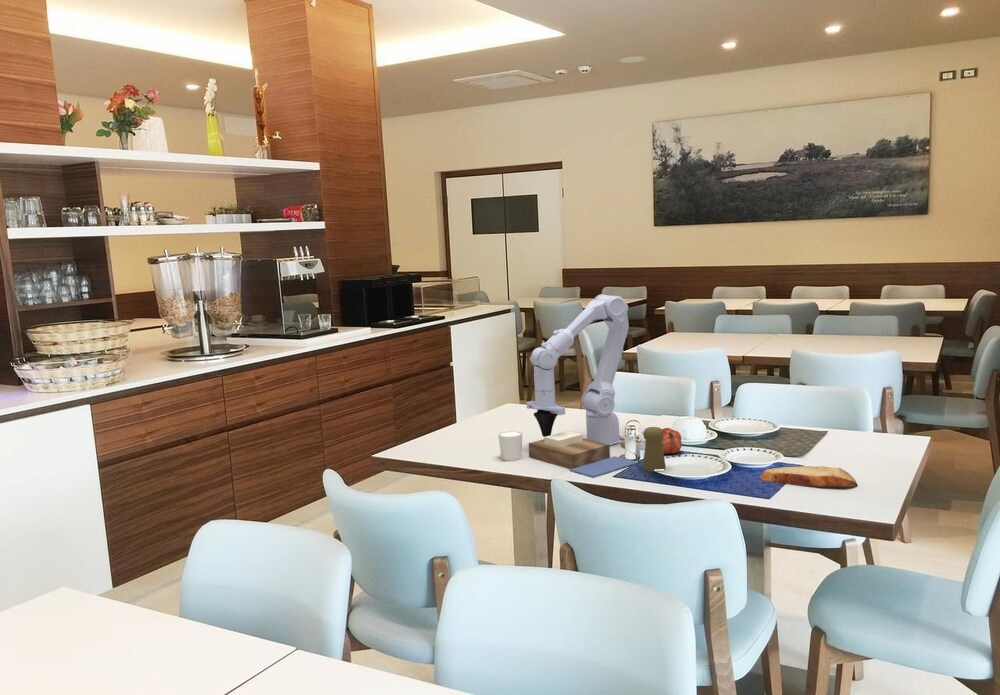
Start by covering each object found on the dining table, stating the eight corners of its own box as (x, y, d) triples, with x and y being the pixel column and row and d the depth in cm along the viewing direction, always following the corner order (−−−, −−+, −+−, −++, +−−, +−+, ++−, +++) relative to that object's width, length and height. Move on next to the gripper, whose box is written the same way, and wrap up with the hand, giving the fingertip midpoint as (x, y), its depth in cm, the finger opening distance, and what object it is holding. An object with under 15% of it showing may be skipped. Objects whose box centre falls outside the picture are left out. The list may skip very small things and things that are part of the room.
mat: (614, 457, 224) (614, 456, 224) (638, 463, 218) (638, 462, 218) (569, 470, 214) (569, 469, 214) (593, 477, 207) (593, 476, 207)
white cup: (526, 455, 231) (525, 431, 230) (520, 461, 225) (519, 437, 224) (503, 454, 233) (501, 430, 232) (496, 461, 227) (495, 436, 226)
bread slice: (753, 478, 202) (753, 463, 201) (812, 468, 208) (812, 453, 207) (803, 499, 185) (803, 483, 185) (865, 487, 191) (866, 471, 191)
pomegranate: (652, 459, 229) (655, 445, 221) (653, 435, 233) (656, 420, 224) (679, 461, 228) (683, 448, 220) (680, 437, 232) (684, 423, 223)
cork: (648, 473, 209) (647, 431, 207) (638, 466, 215) (637, 426, 213) (670, 470, 211) (669, 428, 209) (659, 464, 216) (658, 423, 215)
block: (568, 437, 233) (567, 431, 232) (582, 441, 228) (582, 434, 228) (544, 443, 227) (544, 437, 227) (559, 447, 222) (558, 440, 222)
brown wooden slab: (565, 447, 238) (564, 433, 237) (610, 458, 224) (609, 444, 223) (529, 457, 229) (528, 443, 229) (573, 469, 215) (572, 454, 215)
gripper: (517, 388, 234) (519, 434, 236) (551, 395, 223) (553, 443, 225) (536, 385, 239) (538, 430, 240) (570, 391, 227) (571, 438, 229)
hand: (546, 436), depth 233 cm, fingers closed
